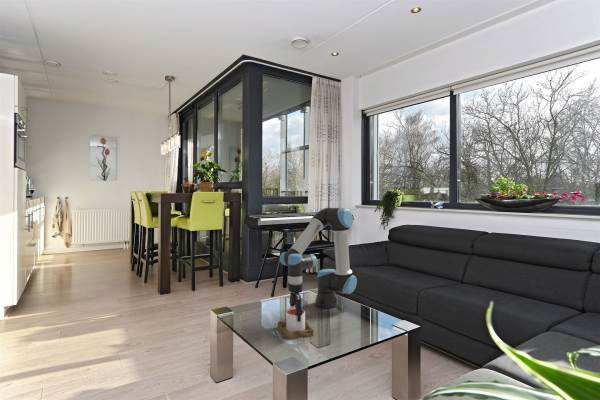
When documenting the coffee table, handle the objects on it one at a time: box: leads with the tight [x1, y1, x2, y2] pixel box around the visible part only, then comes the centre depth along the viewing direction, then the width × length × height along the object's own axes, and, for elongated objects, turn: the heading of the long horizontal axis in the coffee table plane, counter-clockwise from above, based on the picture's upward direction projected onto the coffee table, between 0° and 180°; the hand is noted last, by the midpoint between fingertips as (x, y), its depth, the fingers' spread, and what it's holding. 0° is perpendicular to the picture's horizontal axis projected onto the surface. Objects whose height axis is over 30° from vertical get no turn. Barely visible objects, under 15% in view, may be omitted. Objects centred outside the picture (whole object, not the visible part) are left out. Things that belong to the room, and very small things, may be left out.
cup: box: [285, 308, 306, 332], centre depth 190 cm, size 10×10×10 cm
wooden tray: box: [277, 318, 314, 340], centre depth 190 cm, size 16×16×3 cm
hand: (295, 322), depth 190 cm, fingers open, 13 cm apart
